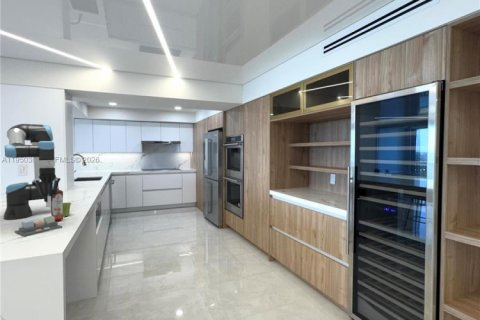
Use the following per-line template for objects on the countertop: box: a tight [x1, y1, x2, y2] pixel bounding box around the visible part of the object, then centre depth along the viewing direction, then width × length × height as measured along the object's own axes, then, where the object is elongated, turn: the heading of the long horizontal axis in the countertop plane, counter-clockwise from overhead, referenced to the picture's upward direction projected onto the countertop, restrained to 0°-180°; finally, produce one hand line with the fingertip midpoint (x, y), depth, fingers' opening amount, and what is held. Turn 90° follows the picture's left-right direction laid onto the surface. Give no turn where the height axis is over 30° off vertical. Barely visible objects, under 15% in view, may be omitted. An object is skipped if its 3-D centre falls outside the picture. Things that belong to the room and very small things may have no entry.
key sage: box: [43, 215, 55, 224], centre depth 152 cm, size 4×4×3 cm
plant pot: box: [63, 202, 72, 218], centre depth 178 cm, size 9×9×9 cm
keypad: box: [14, 221, 63, 237], centre depth 148 cm, size 13×18×3 cm
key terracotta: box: [34, 221, 45, 227], centre depth 147 cm, size 4×4×3 cm
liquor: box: [50, 179, 64, 222], centre depth 166 cm, size 7×7×28 cm
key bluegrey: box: [21, 220, 35, 229], centre depth 143 cm, size 4×4×3 cm
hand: (48, 206), depth 151 cm, fingers closed
